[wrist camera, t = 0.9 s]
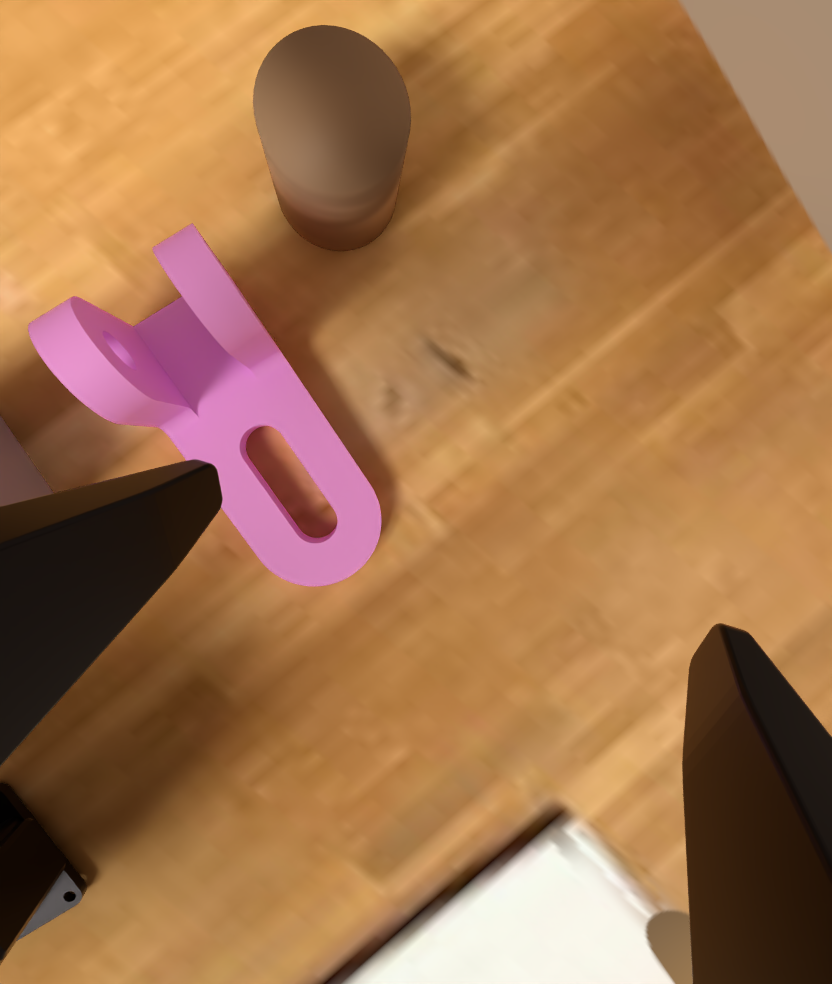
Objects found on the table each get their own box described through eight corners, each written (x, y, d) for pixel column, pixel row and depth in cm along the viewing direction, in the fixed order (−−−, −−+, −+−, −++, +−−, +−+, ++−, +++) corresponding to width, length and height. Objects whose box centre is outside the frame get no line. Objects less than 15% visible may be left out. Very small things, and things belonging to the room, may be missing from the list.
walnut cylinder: (315, 271, 21) (305, 219, 16) (252, 158, 20) (222, 67, 15) (417, 218, 21) (437, 150, 16) (359, 104, 21) (363, -2, 16)
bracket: (118, 352, 20) (2, 307, 14) (233, 280, 21) (176, 200, 14) (300, 601, 22) (280, 671, 16) (402, 532, 23) (426, 571, 16)
